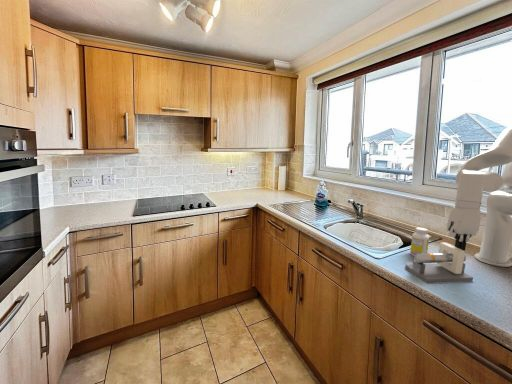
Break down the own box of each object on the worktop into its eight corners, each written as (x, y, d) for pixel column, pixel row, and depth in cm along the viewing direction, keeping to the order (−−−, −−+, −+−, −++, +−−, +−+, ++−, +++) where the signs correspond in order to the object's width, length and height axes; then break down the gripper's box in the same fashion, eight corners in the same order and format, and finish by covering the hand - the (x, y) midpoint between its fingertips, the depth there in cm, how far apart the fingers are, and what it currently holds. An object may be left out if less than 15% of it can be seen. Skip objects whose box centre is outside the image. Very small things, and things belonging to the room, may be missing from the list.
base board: (446, 266, 113) (447, 263, 113) (472, 281, 101) (473, 277, 101) (405, 268, 111) (405, 264, 111) (426, 283, 99) (426, 279, 99)
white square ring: (442, 263, 111) (445, 242, 109) (461, 273, 102) (465, 251, 100) (436, 263, 110) (440, 242, 109) (455, 273, 102) (459, 251, 100)
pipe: (455, 267, 109) (458, 250, 107) (463, 272, 105) (467, 254, 104) (412, 269, 107) (414, 251, 105) (419, 274, 103) (421, 256, 101)
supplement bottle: (420, 252, 128) (424, 226, 125) (429, 258, 121) (434, 231, 119) (406, 252, 127) (410, 226, 125) (415, 258, 121) (419, 231, 119)
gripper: (475, 202, 106) (467, 246, 110) (441, 202, 105) (434, 246, 108) (494, 207, 99) (485, 253, 102) (458, 206, 97) (450, 254, 100)
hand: (459, 250), depth 105 cm, fingers closed
